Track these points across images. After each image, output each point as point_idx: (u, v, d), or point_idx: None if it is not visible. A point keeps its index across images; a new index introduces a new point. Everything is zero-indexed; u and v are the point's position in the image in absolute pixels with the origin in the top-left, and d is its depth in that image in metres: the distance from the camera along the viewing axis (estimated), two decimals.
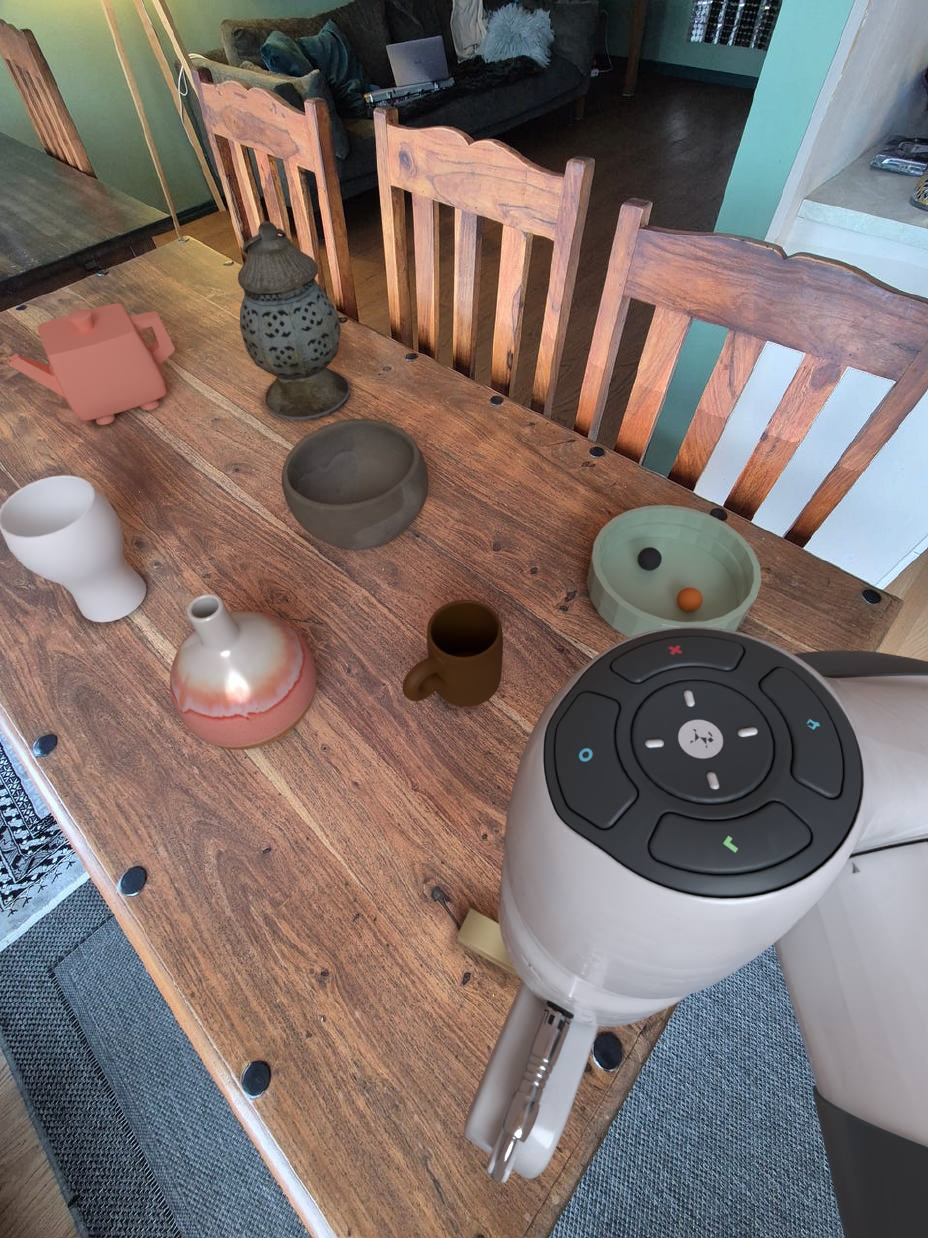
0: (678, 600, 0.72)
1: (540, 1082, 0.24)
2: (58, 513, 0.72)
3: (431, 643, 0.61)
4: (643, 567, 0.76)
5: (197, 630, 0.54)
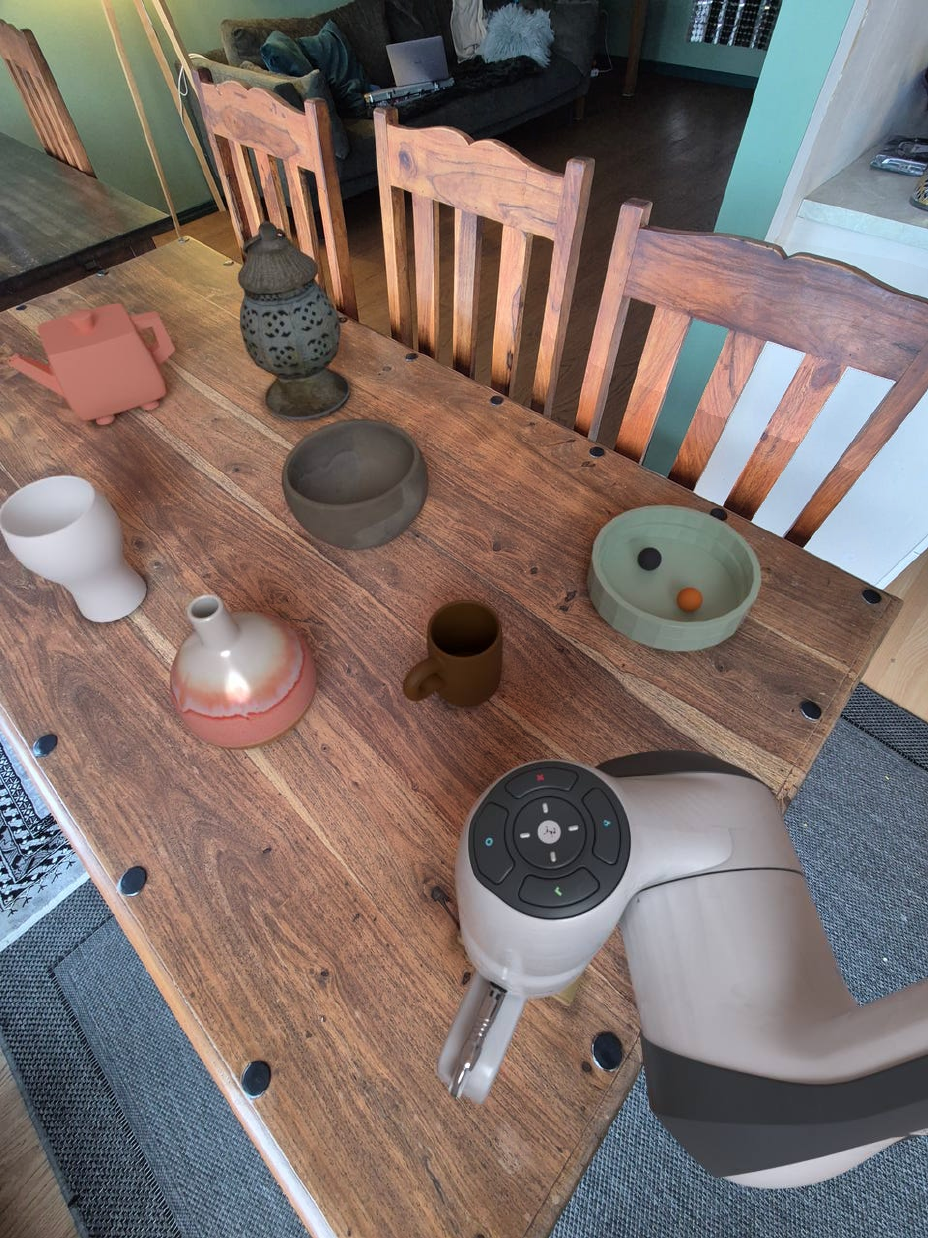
0: (678, 600, 0.72)
1: (482, 1033, 0.37)
2: (58, 513, 0.72)
3: (431, 643, 0.61)
4: (643, 567, 0.76)
5: (197, 630, 0.54)
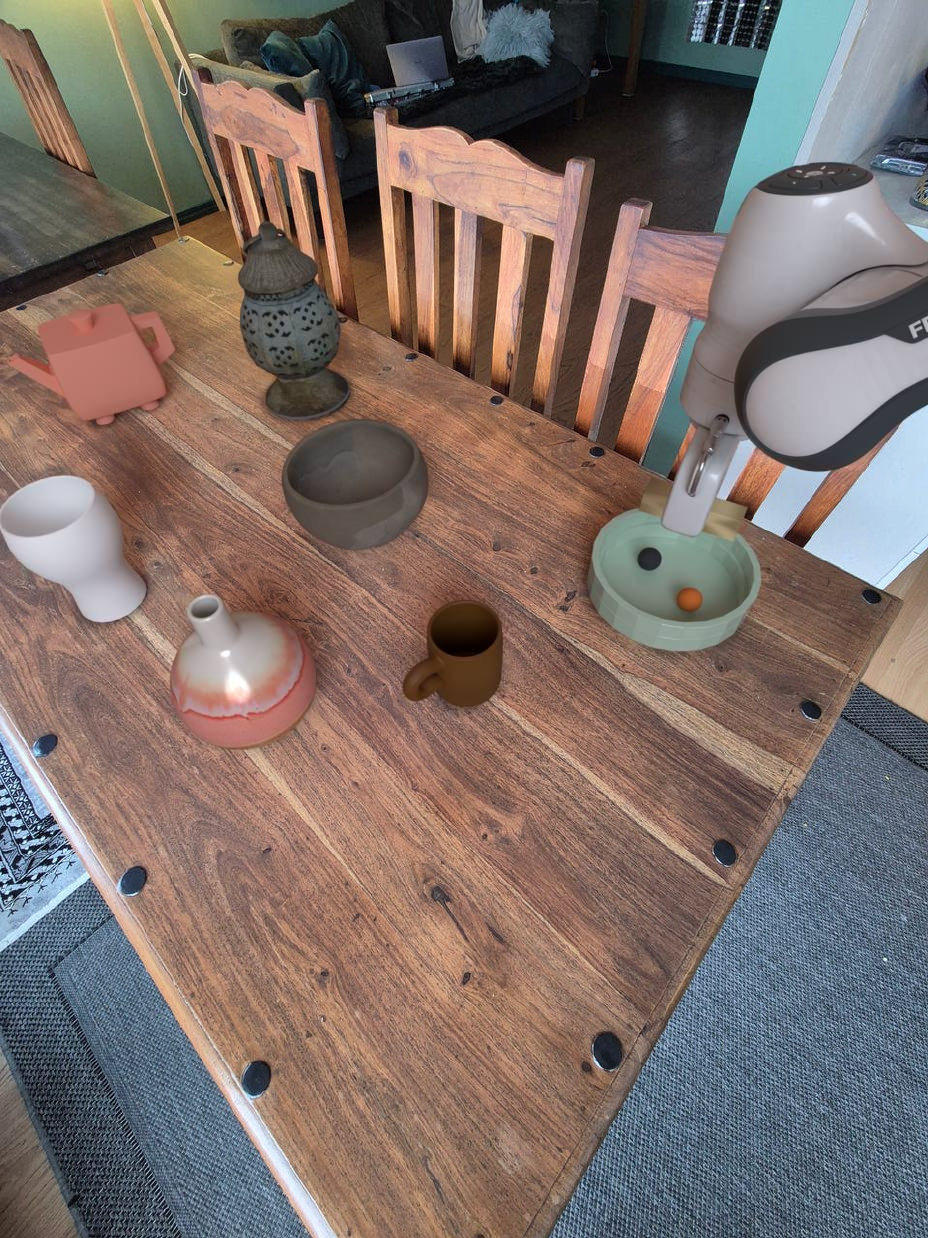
0: (678, 600, 0.72)
1: (717, 435, 0.51)
2: (58, 513, 0.72)
3: (431, 643, 0.61)
4: (643, 567, 0.76)
5: (197, 630, 0.54)
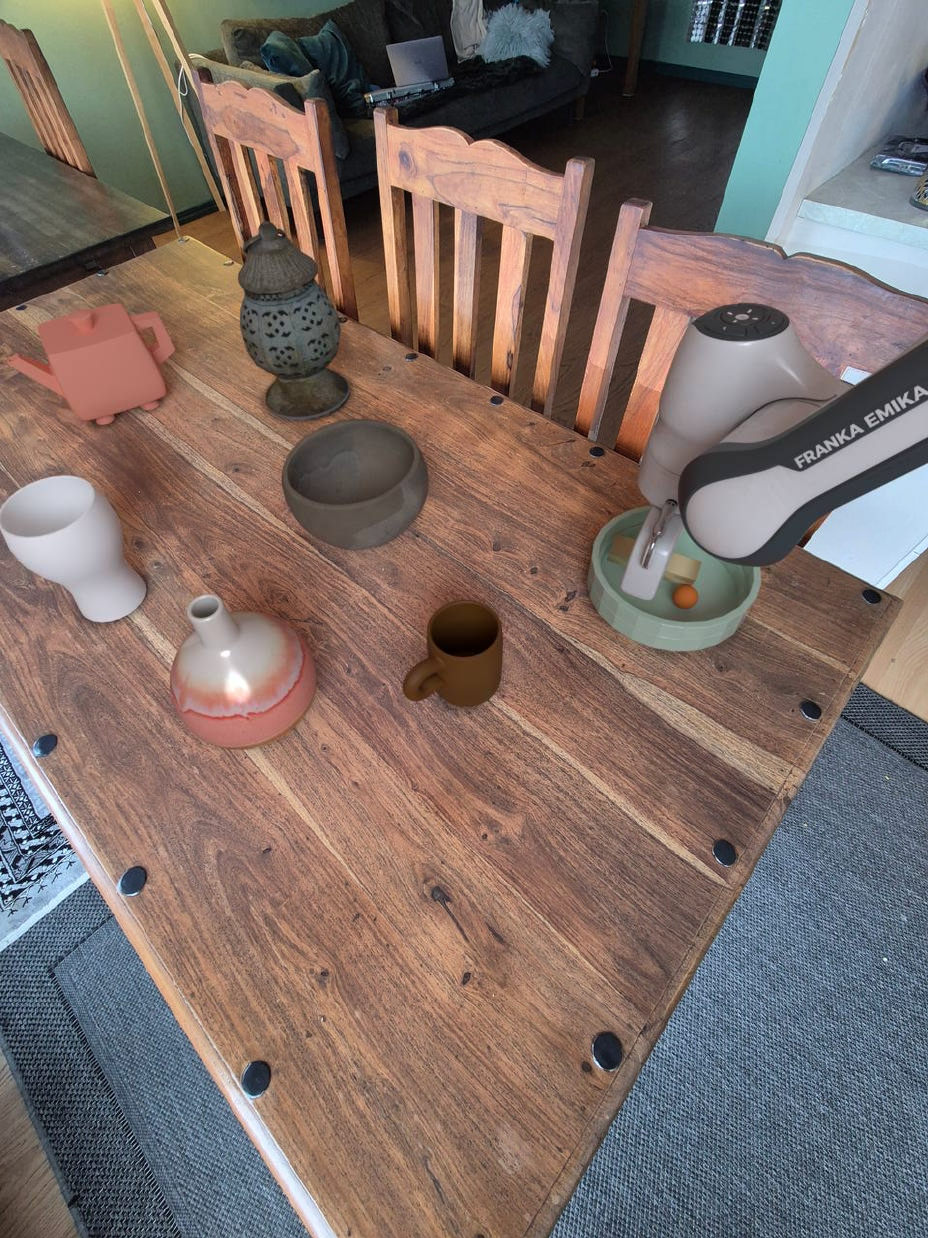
0: (673, 598, 0.73)
1: (666, 519, 0.59)
2: (58, 513, 0.72)
3: (431, 643, 0.61)
4: None
5: (197, 630, 0.54)
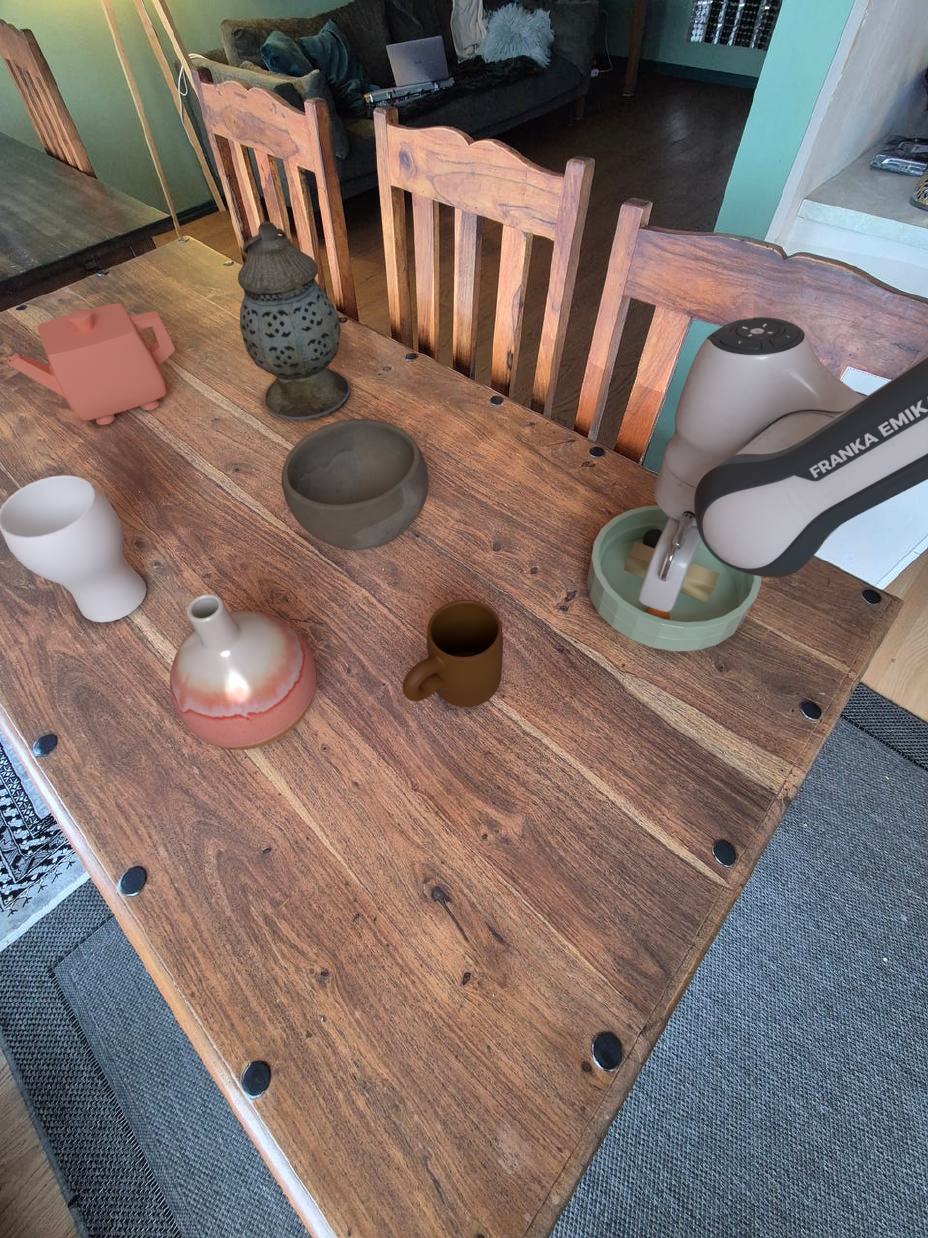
0: None
1: (684, 531, 0.60)
2: (58, 513, 0.72)
3: (431, 643, 0.61)
4: None
5: (197, 630, 0.54)
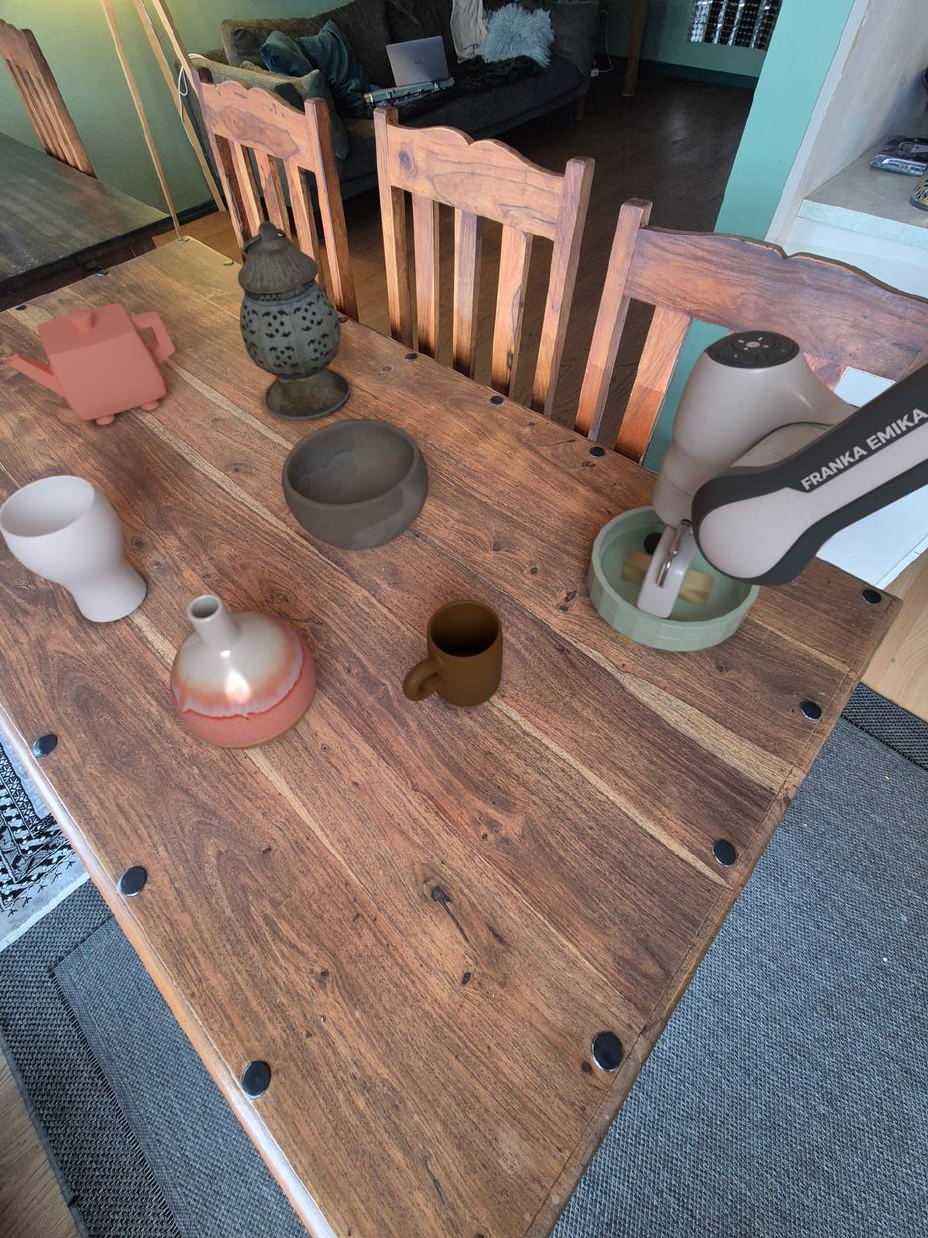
0: None
1: (681, 539, 0.61)
2: (58, 513, 0.72)
3: (431, 643, 0.61)
4: (645, 538, 0.78)
5: (197, 630, 0.54)
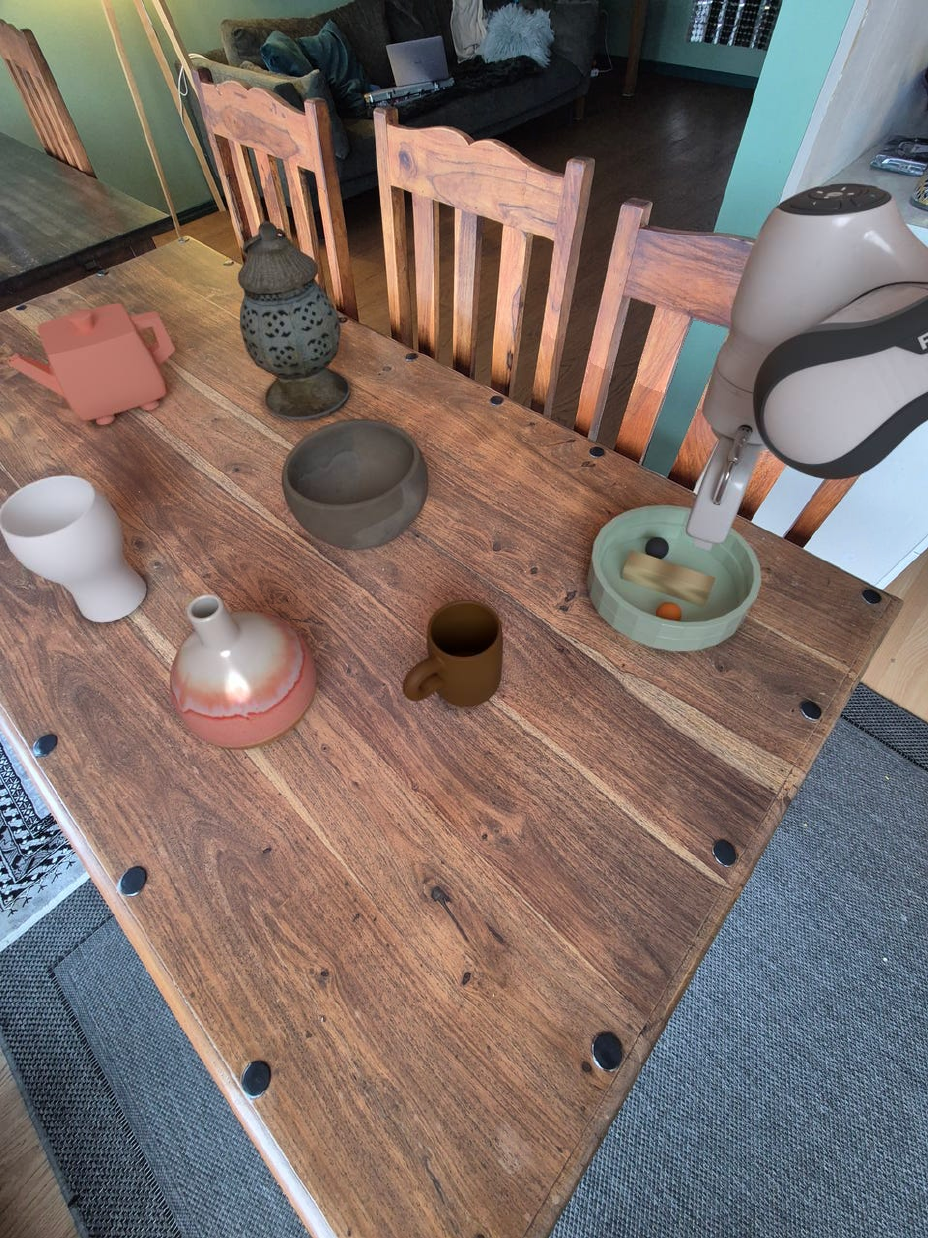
0: None
1: (742, 445, 0.53)
2: (58, 513, 0.72)
3: (431, 643, 0.61)
4: (647, 542, 0.77)
5: (197, 630, 0.54)
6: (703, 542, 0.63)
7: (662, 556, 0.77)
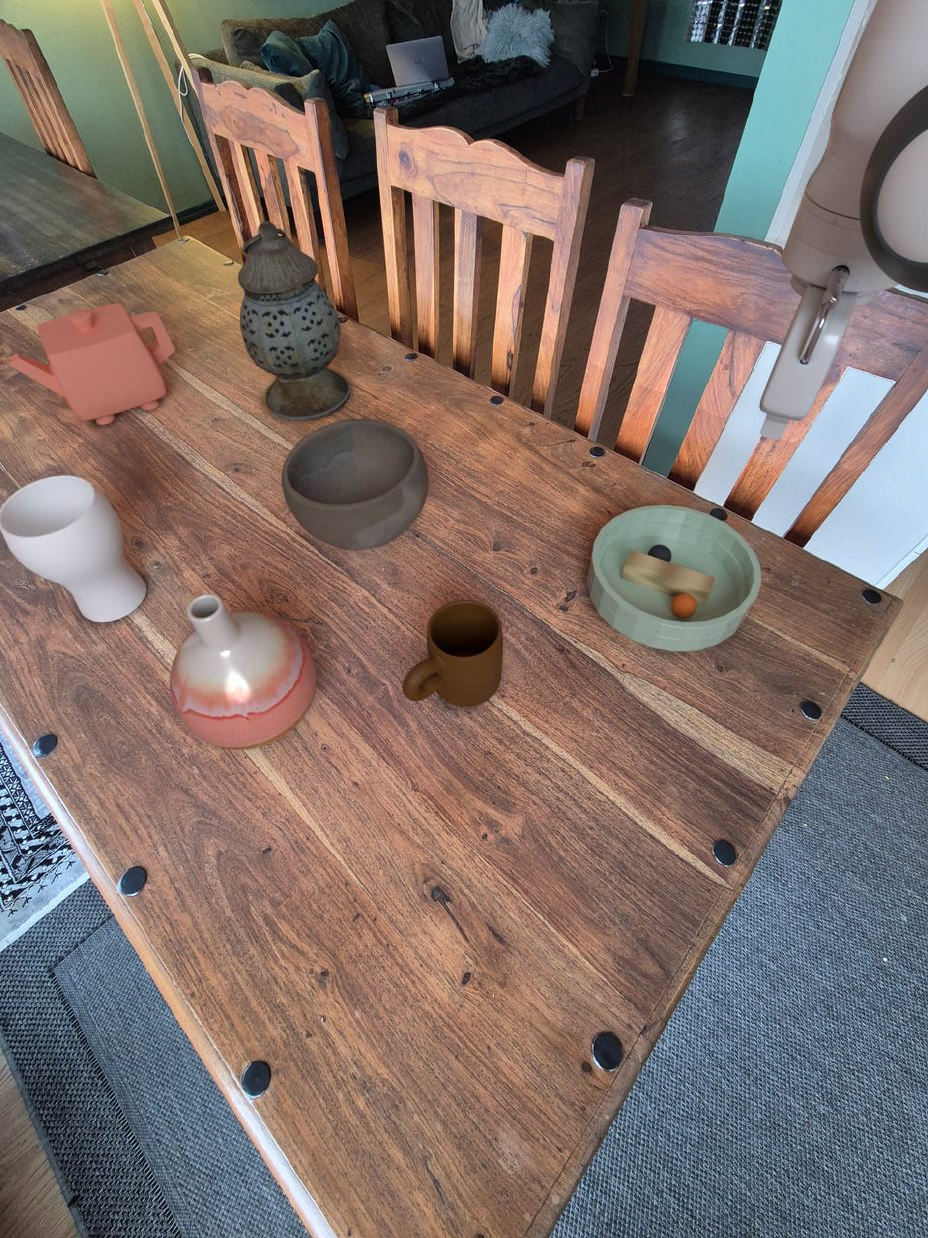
0: (677, 613, 0.72)
1: (839, 285, 0.43)
2: (58, 513, 0.72)
3: (431, 643, 0.61)
4: (651, 554, 0.76)
5: (197, 630, 0.54)
6: (773, 429, 0.54)
7: None
